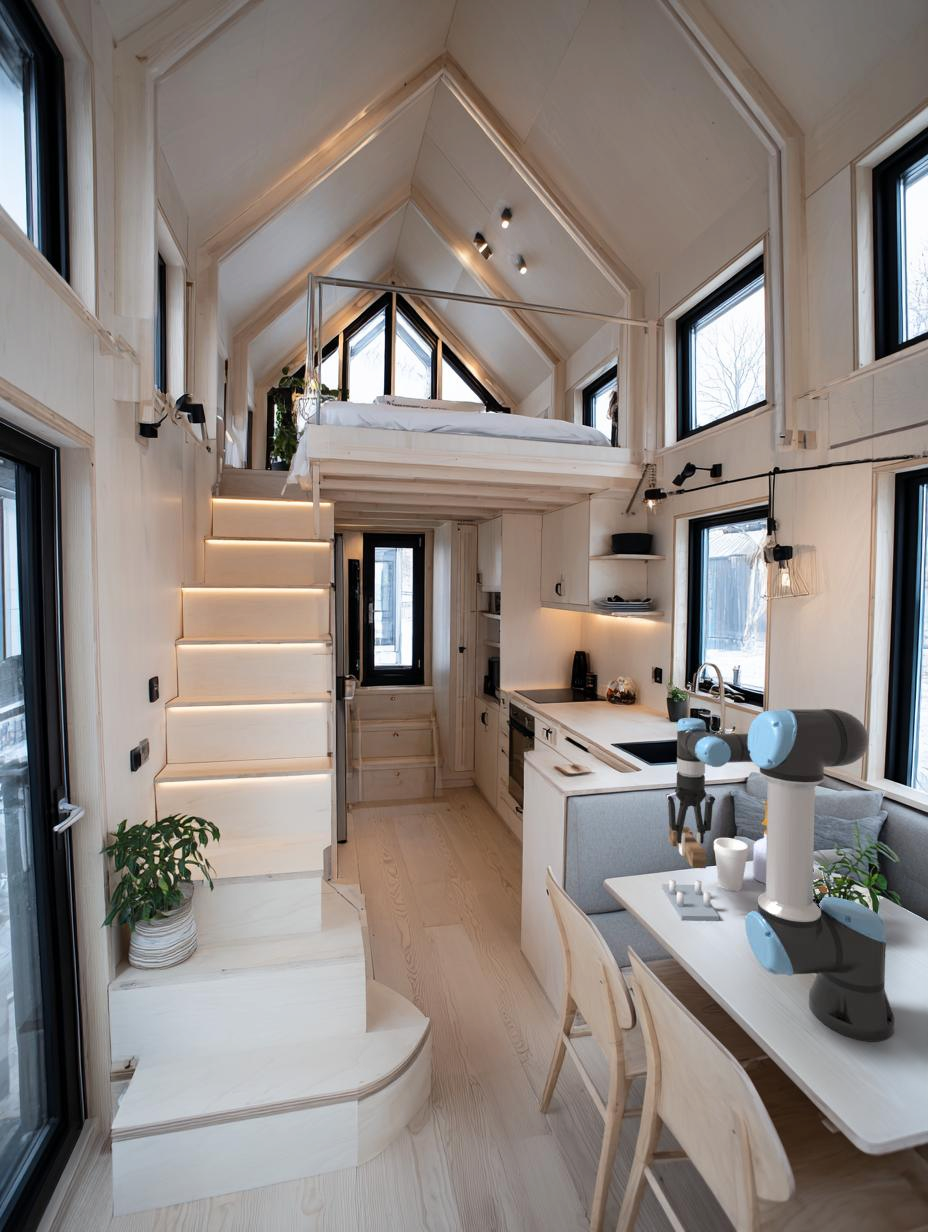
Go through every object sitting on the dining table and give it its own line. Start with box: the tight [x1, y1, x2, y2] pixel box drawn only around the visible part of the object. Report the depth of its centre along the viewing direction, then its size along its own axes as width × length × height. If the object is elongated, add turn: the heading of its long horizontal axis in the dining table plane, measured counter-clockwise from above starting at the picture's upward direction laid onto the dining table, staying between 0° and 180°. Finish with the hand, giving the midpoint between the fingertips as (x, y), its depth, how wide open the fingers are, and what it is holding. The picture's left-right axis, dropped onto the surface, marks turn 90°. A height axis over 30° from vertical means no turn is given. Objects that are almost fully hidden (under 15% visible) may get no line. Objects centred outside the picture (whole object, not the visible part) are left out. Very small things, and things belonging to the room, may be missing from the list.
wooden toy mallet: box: [668, 826, 707, 869], centre depth 175 cm, size 18×6×4 cm, turn 178°
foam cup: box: [713, 837, 749, 892], centre depth 184 cm, size 10×9×13 cm
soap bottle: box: [752, 800, 767, 885], centre depth 189 cm, size 9×9×25 cm
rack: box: [661, 879, 720, 922], centre depth 174 cm, size 18×10×5 cm, turn 178°
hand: (689, 853), depth 174 cm, fingers closed on wooden toy mallet, 4 cm apart
